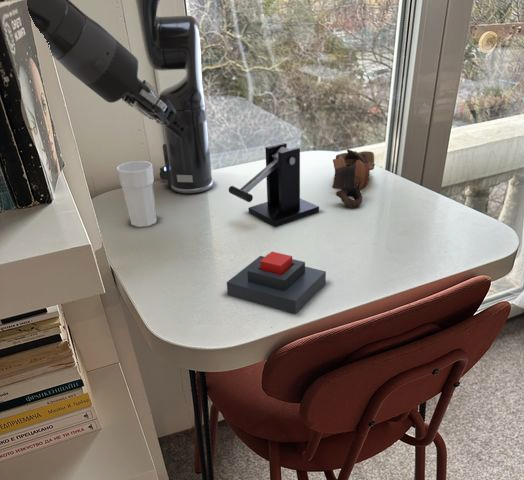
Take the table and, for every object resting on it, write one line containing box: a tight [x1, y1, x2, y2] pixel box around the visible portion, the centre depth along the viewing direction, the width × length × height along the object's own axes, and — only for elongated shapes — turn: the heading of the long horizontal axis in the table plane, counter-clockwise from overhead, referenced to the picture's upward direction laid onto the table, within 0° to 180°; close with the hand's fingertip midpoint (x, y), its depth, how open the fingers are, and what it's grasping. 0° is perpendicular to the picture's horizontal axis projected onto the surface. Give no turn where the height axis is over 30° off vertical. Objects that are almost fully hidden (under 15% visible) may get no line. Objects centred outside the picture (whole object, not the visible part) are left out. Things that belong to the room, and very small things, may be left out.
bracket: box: [248, 142, 320, 228], centre depth 107 cm, size 11×9×13 cm
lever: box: [228, 147, 289, 203], centre depth 103 cm, size 13×6×2 cm, turn 128°
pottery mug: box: [331, 148, 371, 209], centre depth 112 cm, size 12×10×8 cm
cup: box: [116, 160, 157, 228], centre depth 107 cm, size 7×7×11 cm
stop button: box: [260, 251, 293, 275], centre depth 84 cm, size 4×4×2 cm
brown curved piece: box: [335, 150, 376, 171], centre depth 121 cm, size 15×3×8 cm
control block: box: [226, 254, 327, 314], centre depth 85 cm, size 12×10×4 cm
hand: (183, 132), depth 90 cm, fingers closed
